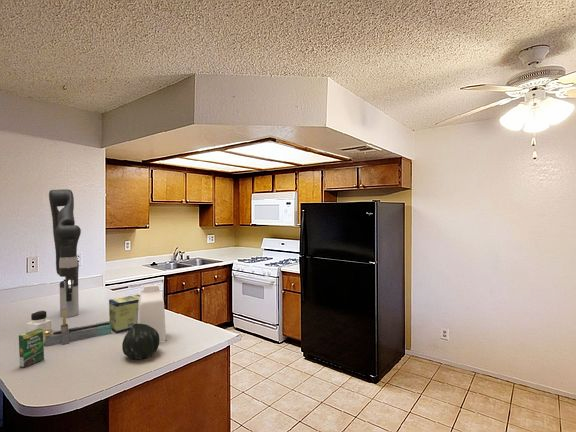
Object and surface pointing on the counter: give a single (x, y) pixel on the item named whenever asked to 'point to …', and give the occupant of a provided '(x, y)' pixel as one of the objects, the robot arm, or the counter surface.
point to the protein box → (123, 313)
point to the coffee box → (31, 347)
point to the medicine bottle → (39, 321)
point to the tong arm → (84, 327)
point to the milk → (152, 310)
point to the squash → (140, 341)
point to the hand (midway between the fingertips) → (68, 301)
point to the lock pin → (64, 317)
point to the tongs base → (74, 334)
